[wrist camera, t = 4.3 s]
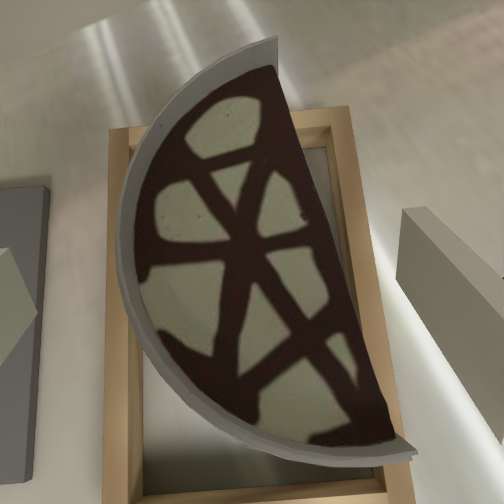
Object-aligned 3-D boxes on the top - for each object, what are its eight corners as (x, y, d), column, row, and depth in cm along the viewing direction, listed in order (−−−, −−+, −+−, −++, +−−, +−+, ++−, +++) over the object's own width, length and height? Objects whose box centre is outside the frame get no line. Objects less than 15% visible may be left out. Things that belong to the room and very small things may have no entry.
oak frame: (341, 128, 22) (348, 105, 20) (402, 502, 17) (418, 520, 15) (123, 149, 22) (109, 129, 20) (120, 523, 17) (101, 544, 15)
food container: (159, 204, 21) (64, 72, 12) (272, 175, 21) (271, 20, 12) (210, 454, 18) (137, 561, 8) (344, 418, 18) (428, 481, 8)
